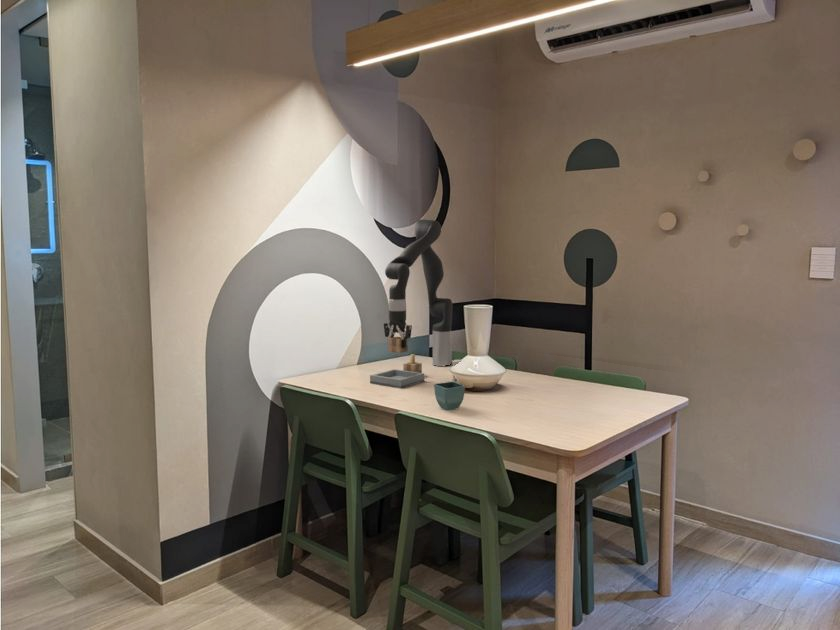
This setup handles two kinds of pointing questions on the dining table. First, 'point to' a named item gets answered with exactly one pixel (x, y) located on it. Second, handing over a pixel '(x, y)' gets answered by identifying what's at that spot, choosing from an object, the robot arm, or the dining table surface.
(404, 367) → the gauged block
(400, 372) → the tray
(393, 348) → the bored block
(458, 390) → the flower pot
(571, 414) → the dining table surface
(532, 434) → the dining table surface
